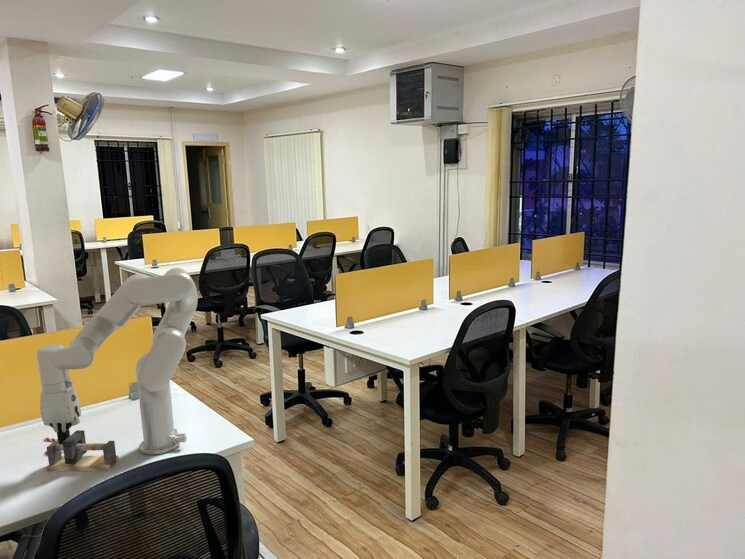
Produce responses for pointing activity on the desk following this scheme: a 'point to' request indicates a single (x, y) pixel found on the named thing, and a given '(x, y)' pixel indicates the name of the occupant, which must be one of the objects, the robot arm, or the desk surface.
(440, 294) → the desk surface
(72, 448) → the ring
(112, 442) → the rail fixture
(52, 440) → the candy cane
